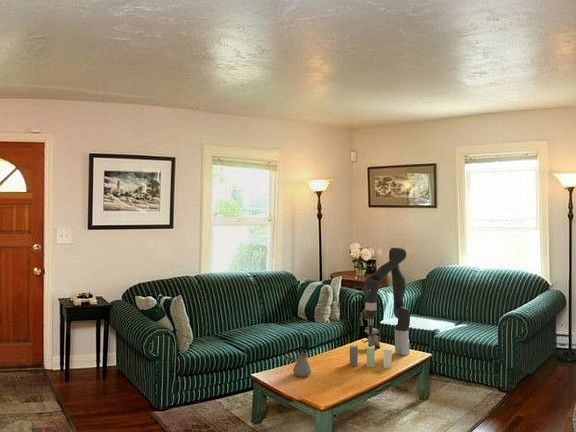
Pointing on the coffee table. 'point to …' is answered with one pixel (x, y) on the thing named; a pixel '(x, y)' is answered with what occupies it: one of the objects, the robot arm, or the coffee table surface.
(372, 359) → the sage green pillar
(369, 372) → the coffee table surface
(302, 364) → the coffee pot
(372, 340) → the figurine
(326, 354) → the coffee table surface
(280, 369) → the coffee table surface
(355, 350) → the slate grey pillar
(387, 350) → the off white pillar
